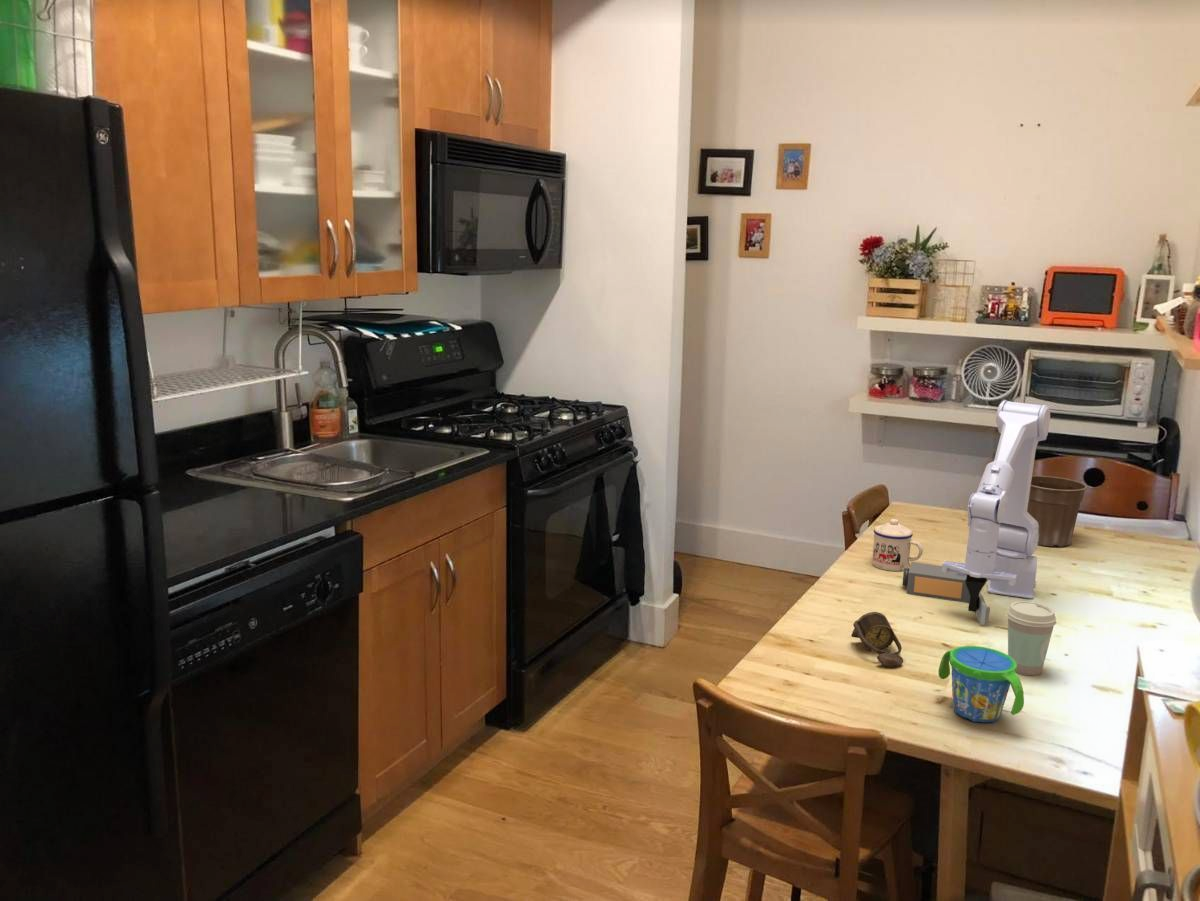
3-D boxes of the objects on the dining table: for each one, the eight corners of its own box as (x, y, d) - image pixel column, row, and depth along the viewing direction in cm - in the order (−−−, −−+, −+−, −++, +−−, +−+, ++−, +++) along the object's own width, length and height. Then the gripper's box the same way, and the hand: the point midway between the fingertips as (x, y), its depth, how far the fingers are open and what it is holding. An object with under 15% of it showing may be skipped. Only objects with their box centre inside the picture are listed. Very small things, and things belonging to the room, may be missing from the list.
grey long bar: (969, 601, 218) (971, 582, 217) (978, 602, 218) (980, 583, 217) (979, 624, 205) (981, 604, 204) (988, 625, 205) (990, 605, 204)
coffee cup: (1045, 683, 180) (1053, 621, 177) (996, 671, 184) (1003, 610, 182) (1052, 666, 187) (1060, 606, 184) (1005, 655, 191) (1012, 596, 189)
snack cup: (1036, 729, 163) (1043, 672, 161) (987, 741, 159) (995, 682, 156) (966, 689, 177) (972, 635, 174) (920, 699, 172) (925, 644, 170)
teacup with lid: (865, 566, 241) (869, 520, 238) (878, 557, 248) (882, 512, 246) (914, 577, 234) (918, 530, 231) (926, 567, 241) (931, 521, 239)
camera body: (973, 591, 226) (976, 568, 224) (972, 603, 218) (975, 579, 217) (904, 581, 231) (906, 558, 230) (900, 592, 224) (903, 569, 222)
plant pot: (1021, 527, 276) (1028, 471, 273) (1084, 539, 267) (1092, 481, 263) (1006, 541, 263) (1013, 483, 260) (1072, 554, 254) (1080, 493, 250)
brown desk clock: (908, 618, 195) (858, 602, 197) (913, 637, 182) (860, 620, 184) (897, 651, 196) (847, 635, 198) (901, 673, 184) (848, 655, 186)
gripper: (941, 546, 206) (934, 608, 209) (1015, 561, 199) (1006, 624, 202) (949, 538, 212) (942, 598, 215) (1021, 552, 205) (1013, 613, 208)
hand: (973, 610), depth 209 cm, fingers closed, pressing on grey long bar
